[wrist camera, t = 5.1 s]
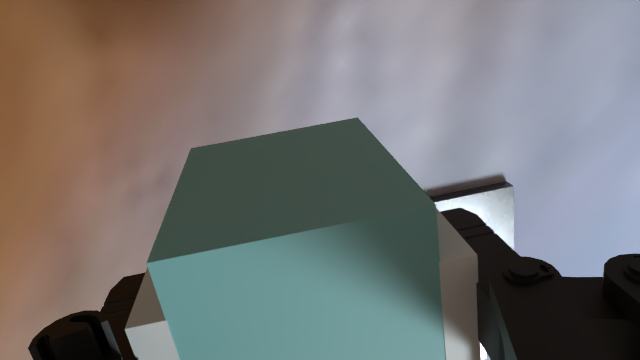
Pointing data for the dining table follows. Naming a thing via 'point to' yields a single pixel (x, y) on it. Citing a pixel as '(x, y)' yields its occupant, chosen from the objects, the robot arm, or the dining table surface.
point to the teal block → (300, 252)
